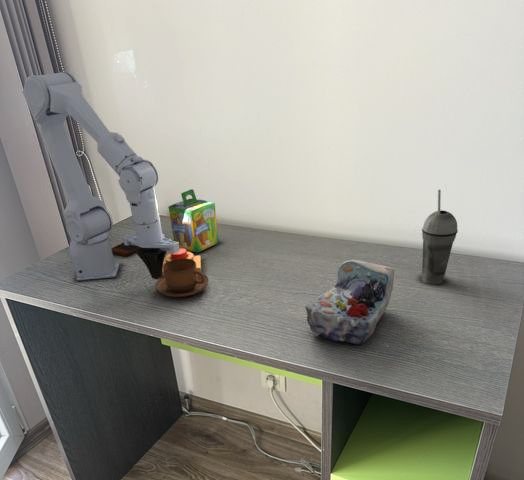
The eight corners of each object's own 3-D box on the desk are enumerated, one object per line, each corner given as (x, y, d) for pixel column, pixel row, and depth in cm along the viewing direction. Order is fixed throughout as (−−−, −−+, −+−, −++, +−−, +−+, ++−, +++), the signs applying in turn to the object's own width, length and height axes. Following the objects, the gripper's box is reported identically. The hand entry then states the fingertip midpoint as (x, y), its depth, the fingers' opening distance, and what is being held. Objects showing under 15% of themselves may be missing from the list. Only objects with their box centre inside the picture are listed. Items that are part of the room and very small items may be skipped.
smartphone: (163, 235, 142) (126, 253, 132) (163, 238, 143) (127, 256, 132) (145, 231, 146) (107, 249, 135) (145, 234, 146) (108, 252, 136)
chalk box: (197, 254, 132) (190, 198, 124) (173, 247, 137) (164, 193, 128) (220, 243, 138) (214, 189, 130) (196, 237, 143) (189, 185, 134)
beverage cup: (451, 287, 107) (467, 195, 96) (416, 286, 109) (428, 195, 98) (447, 273, 113) (462, 184, 102) (414, 272, 115) (425, 185, 104)
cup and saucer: (213, 278, 118) (210, 254, 115) (203, 301, 108) (200, 276, 105) (165, 278, 119) (160, 254, 116) (150, 302, 110) (145, 276, 106)
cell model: (402, 258, 95) (371, 305, 81) (397, 306, 101) (367, 359, 87) (338, 249, 101) (298, 292, 86) (336, 295, 107) (299, 343, 92)
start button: (171, 261, 121) (169, 255, 120) (171, 255, 124) (170, 249, 123) (187, 260, 121) (186, 253, 120) (187, 254, 125) (186, 247, 124)
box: (160, 276, 121) (157, 264, 119) (162, 264, 127) (160, 252, 126) (201, 272, 121) (199, 260, 120) (200, 260, 128) (199, 248, 126)
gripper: (183, 218, 108) (192, 275, 116) (133, 211, 114) (144, 266, 122) (163, 228, 103) (173, 287, 111) (112, 221, 109) (124, 277, 117)
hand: (157, 277), depth 116 cm, fingers closed
